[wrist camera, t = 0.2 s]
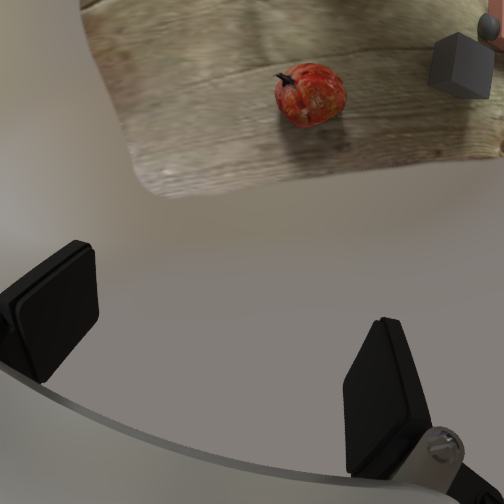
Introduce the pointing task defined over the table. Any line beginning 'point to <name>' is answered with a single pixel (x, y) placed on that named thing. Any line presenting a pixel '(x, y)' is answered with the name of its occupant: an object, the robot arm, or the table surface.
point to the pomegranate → (310, 94)
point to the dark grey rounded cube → (462, 67)
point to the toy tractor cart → (493, 24)
